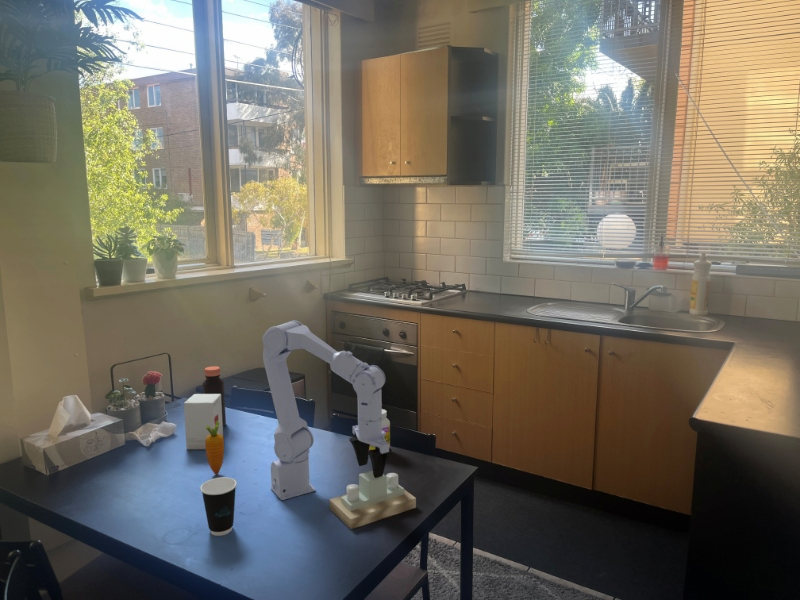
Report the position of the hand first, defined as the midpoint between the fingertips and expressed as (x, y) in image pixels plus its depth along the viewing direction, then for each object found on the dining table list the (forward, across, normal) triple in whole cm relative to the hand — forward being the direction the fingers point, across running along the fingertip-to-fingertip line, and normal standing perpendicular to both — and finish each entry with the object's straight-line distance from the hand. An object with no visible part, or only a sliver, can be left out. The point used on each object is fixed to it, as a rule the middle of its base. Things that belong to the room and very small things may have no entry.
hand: (370, 470), depth 145 cm
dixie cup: (+10, +9, +34) cm, 37 cm away
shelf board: (+9, -1, 0) cm, 9 cm away
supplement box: (+10, +61, +24) cm, 67 cm away
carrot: (+10, +38, +27) cm, 48 cm away
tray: (+7, -1, 0) cm, 7 cm away
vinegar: (+10, +75, +17) cm, 78 cm away
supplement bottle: (+10, +26, -18) cm, 33 cm away
